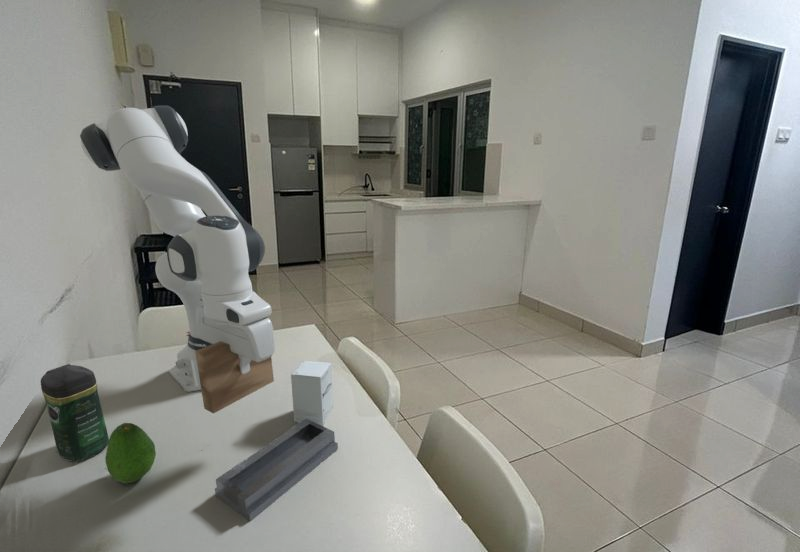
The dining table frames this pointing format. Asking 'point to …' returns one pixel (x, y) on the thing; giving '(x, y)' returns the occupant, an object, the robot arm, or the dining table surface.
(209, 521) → the dining table surface
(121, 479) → the avocado
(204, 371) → the door panel
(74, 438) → the coffee jar
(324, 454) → the tray
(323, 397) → the supplement box
